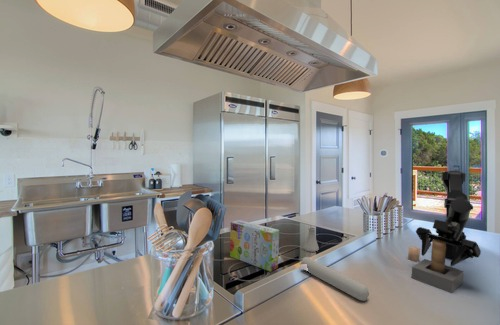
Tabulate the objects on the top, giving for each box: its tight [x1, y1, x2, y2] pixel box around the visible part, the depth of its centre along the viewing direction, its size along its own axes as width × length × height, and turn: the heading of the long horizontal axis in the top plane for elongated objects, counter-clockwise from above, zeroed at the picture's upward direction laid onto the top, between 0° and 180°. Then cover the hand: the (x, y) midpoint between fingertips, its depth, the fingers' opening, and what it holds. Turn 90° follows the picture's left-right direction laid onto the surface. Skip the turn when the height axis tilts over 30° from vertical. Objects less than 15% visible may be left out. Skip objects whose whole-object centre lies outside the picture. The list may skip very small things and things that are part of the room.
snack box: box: [229, 219, 280, 273], centre depth 103 cm, size 21×6×15 cm, turn 52°
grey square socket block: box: [411, 258, 465, 293], centre depth 92 cm, size 12×12×4 cm
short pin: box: [407, 245, 421, 263], centre depth 109 cm, size 4×4×5 cm
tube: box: [300, 256, 370, 302], centre depth 88 cm, size 5×5×25 cm
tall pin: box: [430, 240, 446, 274], centre depth 92 cm, size 4×4×14 cm
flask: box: [302, 226, 320, 253], centre depth 117 cm, size 7×7×10 cm
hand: (436, 260), depth 91 cm, fingers open, 9 cm apart
